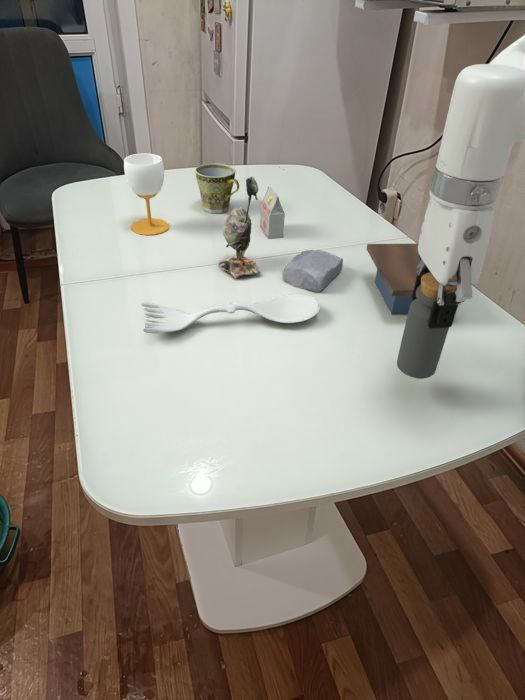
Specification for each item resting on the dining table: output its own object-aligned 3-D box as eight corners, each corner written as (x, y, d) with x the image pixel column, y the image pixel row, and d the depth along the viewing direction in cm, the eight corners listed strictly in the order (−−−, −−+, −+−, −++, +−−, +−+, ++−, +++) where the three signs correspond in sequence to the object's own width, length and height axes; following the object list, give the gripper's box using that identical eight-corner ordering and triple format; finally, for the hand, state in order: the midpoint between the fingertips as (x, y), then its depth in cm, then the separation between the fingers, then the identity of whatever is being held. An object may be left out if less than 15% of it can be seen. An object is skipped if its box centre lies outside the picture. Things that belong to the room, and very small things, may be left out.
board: (432, 248, 106) (433, 243, 105) (467, 294, 92) (469, 289, 91) (366, 249, 105) (367, 243, 104) (391, 296, 90) (393, 290, 90)
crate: (420, 281, 107) (427, 255, 103) (442, 313, 98) (450, 286, 94) (374, 281, 106) (379, 255, 102) (391, 314, 97) (397, 287, 93)
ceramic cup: (188, 208, 132) (186, 169, 126) (216, 198, 138) (215, 160, 132) (224, 223, 126) (224, 183, 120) (251, 212, 132) (252, 173, 126)
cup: (123, 231, 120) (113, 162, 110) (143, 216, 127) (136, 150, 117) (157, 238, 118) (150, 168, 108) (176, 223, 125) (171, 156, 115)
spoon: (142, 315, 93) (140, 299, 91) (310, 299, 100) (311, 284, 97) (145, 345, 86) (142, 328, 84) (324, 326, 93) (326, 310, 91)
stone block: (278, 288, 106) (323, 294, 101) (276, 267, 103) (321, 271, 98) (304, 267, 114) (346, 271, 109) (302, 246, 112) (345, 250, 107)
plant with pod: (251, 253, 114) (253, 162, 102) (262, 278, 105) (266, 183, 93) (215, 255, 112) (213, 164, 100) (223, 282, 104) (222, 185, 91)
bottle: (424, 352, 80) (448, 267, 71) (442, 376, 76) (470, 289, 66) (390, 356, 79) (409, 271, 70) (406, 381, 74) (429, 294, 65)
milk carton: (274, 225, 126) (276, 185, 120) (283, 237, 121) (286, 196, 115) (260, 226, 125) (261, 186, 119) (268, 238, 120) (270, 197, 114)
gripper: (532, 215, 53) (482, 350, 65) (466, 160, 67) (434, 280, 78) (463, 217, 53) (425, 352, 64) (410, 161, 66) (386, 281, 77)
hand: (430, 311), depth 71 cm, fingers closed on bottle, 5 cm apart
